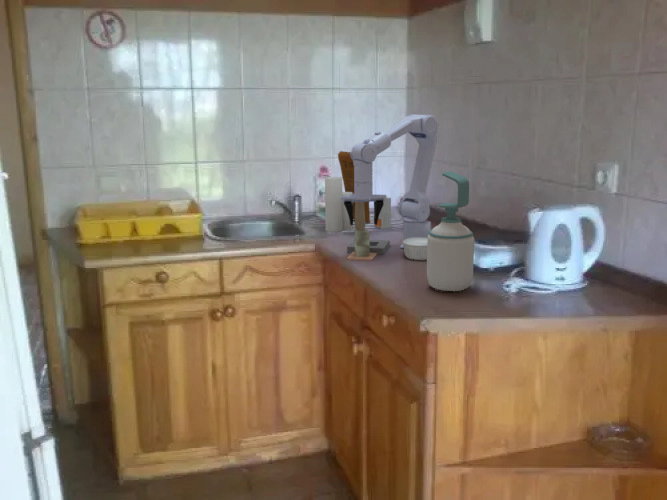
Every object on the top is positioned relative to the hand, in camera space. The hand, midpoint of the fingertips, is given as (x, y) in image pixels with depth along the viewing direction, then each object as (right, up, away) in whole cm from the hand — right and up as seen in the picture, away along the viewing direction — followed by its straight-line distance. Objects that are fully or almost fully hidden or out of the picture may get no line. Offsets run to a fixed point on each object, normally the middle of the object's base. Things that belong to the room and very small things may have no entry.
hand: (363, 224), depth 219 cm
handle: (0, -3, +35) cm, 35 cm away
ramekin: (+18, -11, +1) cm, 21 cm away
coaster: (0, -11, +1) cm, 11 cm away
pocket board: (+2, -8, +11) cm, 14 cm away
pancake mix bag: (0, +4, +61) cm, 61 cm away
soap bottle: (+22, -19, -33) cm, 44 cm away
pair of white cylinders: (-8, 0, +44) cm, 45 cm away
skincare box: (+9, 0, +47) cm, 48 cm away
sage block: (0, -10, +1) cm, 10 cm away
